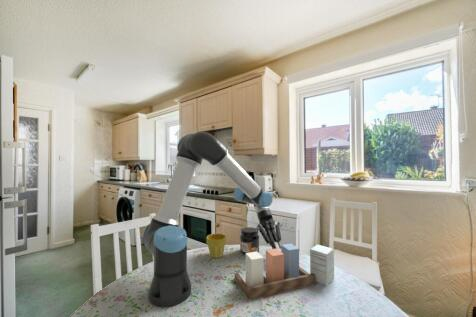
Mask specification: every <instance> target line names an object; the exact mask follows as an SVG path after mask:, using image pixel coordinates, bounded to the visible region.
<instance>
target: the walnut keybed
mask: <svg viewBox="0 0 476 317" xmlns="http://www.w3.org/2000/svg"><path fill="white" fill-rule="evenodd" d="M234 280H235V281H236V283H237V286H238V287H239V288H240V290H241V291H242V294H244V296H245V298H246V299H247V300H250V301H251V300H253V299H258V298H262V297H267V296H271V295H274V294H275V295H276V294H278V293H279V294H280V293H283V292H288V291H292V290H296V289H300V288H305V287H310V286H313V285H316V281H315V274H314V273H312V274H310V273H309V272H308V271H306V269H303V268H302V267H301V266H300V265H299V276H298V277H293V278H289V277H288V276H287V275H286V274H285V273H284V280H279V281H274V282H269V281H268V280H267V279H266V276H264V284H260V285H256V286H251V287H248V286H247V285H246V281H245V280H244V279H243V278H242V276H241V275H240V273H239V272H235V273H234Z"/></svg>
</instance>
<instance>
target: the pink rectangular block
mask: <svg viewBox="0 0 476 317" xmlns="http://www.w3.org/2000/svg"><path fill="white" fill-rule="evenodd" d="M280 251H281V250H280ZM280 251H279V250H278V249H272V248H271V249H266V250H265V278H266V279H267V280H268V281H269V282H274V281H279V280H284V254H283V253H282V252H280Z"/></svg>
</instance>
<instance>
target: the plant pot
mask: <svg viewBox="0 0 476 317" xmlns="http://www.w3.org/2000/svg"><path fill="white" fill-rule="evenodd" d="M205 241H206V246H207V247H208V248H207V249H208V250H209V256H210V257H211V258H214V259H219V258H222V257H224V256H223V255H224V250H225V246H226V244H227V235H226V234H223V233H211V234H208V235H207V236H206V240H205Z"/></svg>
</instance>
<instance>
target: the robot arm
mask: <svg viewBox="0 0 476 317" xmlns="http://www.w3.org/2000/svg"><path fill="white" fill-rule="evenodd" d="M176 148H177V154H176V156H175V159H176V161H177V163H176V166H175V169H174V171H173V174H172V176H171V179H170V181H169V184H168V187H167V190H166V192H165V194H164V197H163V199H162V202H161V205H160V207H159V210H158V212H157V214H155V215H153V216H152V217H151V220H150V223H149V224H147V225H146V226H145V228H144V229H143V231H142V241H143V242H142V243H143V245H144V247H145V248H146V249H147V251H148V252H149V253H150V254H151V256H153V276H152V278H151V283H150V286H149V287H148V288H149V289H148V301H149V303H150V304H152V305H153V306H155V307H161V308H164V307H167V308H168V307H173V306H176V305H179V304H181V303H183V302H184V301H186V300H187V299H188V298H189V296H191V293H192V282H191V279H190V276H189V274H188V270H187V265H188V263H187V262H188V261H187V260H188V254H187V253H188V234H187V231H186V229H185V228H183V227H181V226H180V223H179V220H178V219H179V216H180V213H181V210H182V207H183V206H184V202H185V198H186V196H187V193H188V191H189V188H190V186H191V182H192V180H193V178H194V175H195V171H196V169H197V168H199V167H201V165H202V162H203V160H205V161H207V162H208V163H209V164H210V165H212V166H214V167H215V166H216V167H217V169H219V170H220V171H221V172H222V173H223V174H224V175H225V176H226V177H227V178H228V179H229V180H230V181H231V182H232V183H234V185H236V186H237V187H236V188H235V189H234V191H233V197H234V200H236V201H238V202H242V203H246V204H250V205H253V207H254V211H255V213H256V215H257V216H256V217H257V219H258V221H259V224H258V223H257V226H256V227H255V228H256V229H258V232H259V233H260V234H261V237H262V238H263V239H264V241H265V243H266V244H268V245H270V246H271V249H278V250H279V251H280V252H281V245H280V242H281V241H282V236H281V229H280V225H281V223H280V222H276V221H275V219H274V217H273V214H272V212H271V209H270V206H271V205H272V204H273V195H272V193H271V192H269V191H266V190H264V189H262V187H261V186H260V185H258V183H257V182H256V181H255V180H254V178H252V177H251V176H250V175H249V174H248V173H247V171H246V170H245V169H244V168H242V166H241V165H240V164H239V163H238V162H237V161H236V160H235V158H233V157H232V156H231V155H230V154H229V149H228V148H227V147H226V146H225V145H224V144H223V142H221V141H220V140H219V139H218V138H216V137H215V136H214V135H212V134H211V133H209V132H206V131H197V132H195V133H188V134H186V135H184V136H182V137H181V138H180V139H179V140H178V143H177V146H176Z"/></svg>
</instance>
